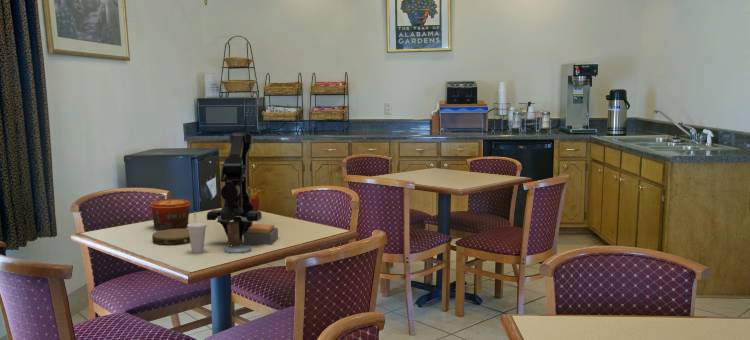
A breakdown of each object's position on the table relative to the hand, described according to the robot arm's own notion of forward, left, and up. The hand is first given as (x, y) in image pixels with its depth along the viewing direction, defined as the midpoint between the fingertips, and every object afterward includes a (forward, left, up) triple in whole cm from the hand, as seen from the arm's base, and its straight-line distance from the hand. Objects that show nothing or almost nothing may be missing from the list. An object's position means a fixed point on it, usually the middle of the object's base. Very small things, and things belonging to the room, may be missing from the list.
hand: (234, 238), depth 211 cm
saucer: (+4, -8, -2) cm, 9 cm away
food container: (-35, +23, -2) cm, 42 cm away
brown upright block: (0, 0, -2) cm, 2 cm away
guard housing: (+8, +6, -2) cm, 10 cm away
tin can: (-24, +3, -3) cm, 24 cm away
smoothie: (-9, -12, -2) cm, 15 cm away
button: (+8, +6, +2) cm, 10 cm away
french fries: (-8, +41, -2) cm, 42 cm away
